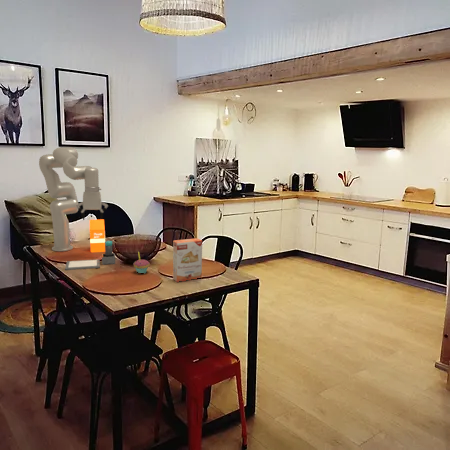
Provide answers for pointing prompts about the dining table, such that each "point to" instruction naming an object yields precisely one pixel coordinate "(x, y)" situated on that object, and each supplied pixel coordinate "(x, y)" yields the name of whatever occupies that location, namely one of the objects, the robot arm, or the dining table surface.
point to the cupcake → (141, 265)
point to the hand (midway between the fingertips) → (92, 219)
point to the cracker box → (187, 259)
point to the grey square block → (108, 259)
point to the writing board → (82, 264)
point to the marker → (108, 248)
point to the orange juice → (97, 235)
